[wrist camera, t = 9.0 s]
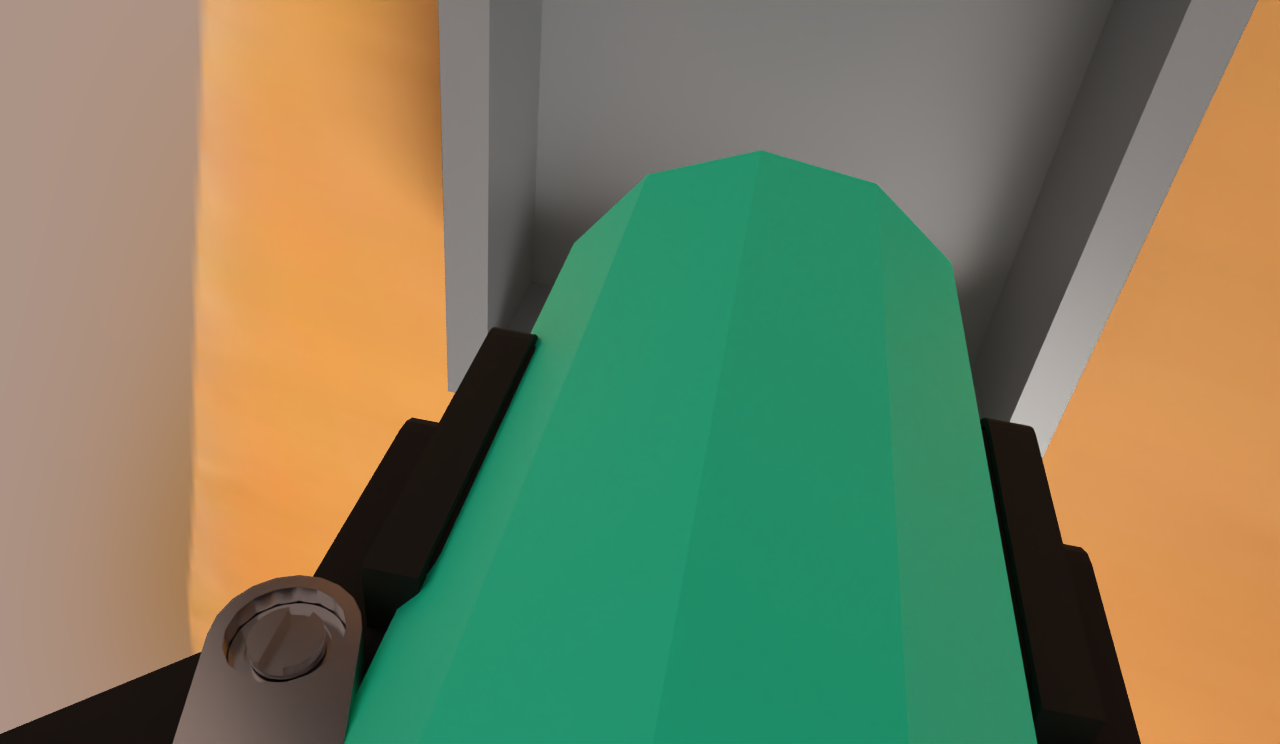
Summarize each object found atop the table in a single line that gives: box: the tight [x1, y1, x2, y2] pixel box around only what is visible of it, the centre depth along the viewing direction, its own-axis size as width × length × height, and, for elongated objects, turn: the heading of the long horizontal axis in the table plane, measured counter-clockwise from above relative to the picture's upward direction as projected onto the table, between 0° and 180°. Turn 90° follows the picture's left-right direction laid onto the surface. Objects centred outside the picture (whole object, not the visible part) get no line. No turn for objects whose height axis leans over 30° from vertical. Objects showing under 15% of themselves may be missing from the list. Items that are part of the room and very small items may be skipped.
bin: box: [438, 0, 1258, 458], centre depth 21 cm, size 14×14×5 cm
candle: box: [344, 150, 1037, 744], centre depth 9 cm, size 6×6×12 cm
